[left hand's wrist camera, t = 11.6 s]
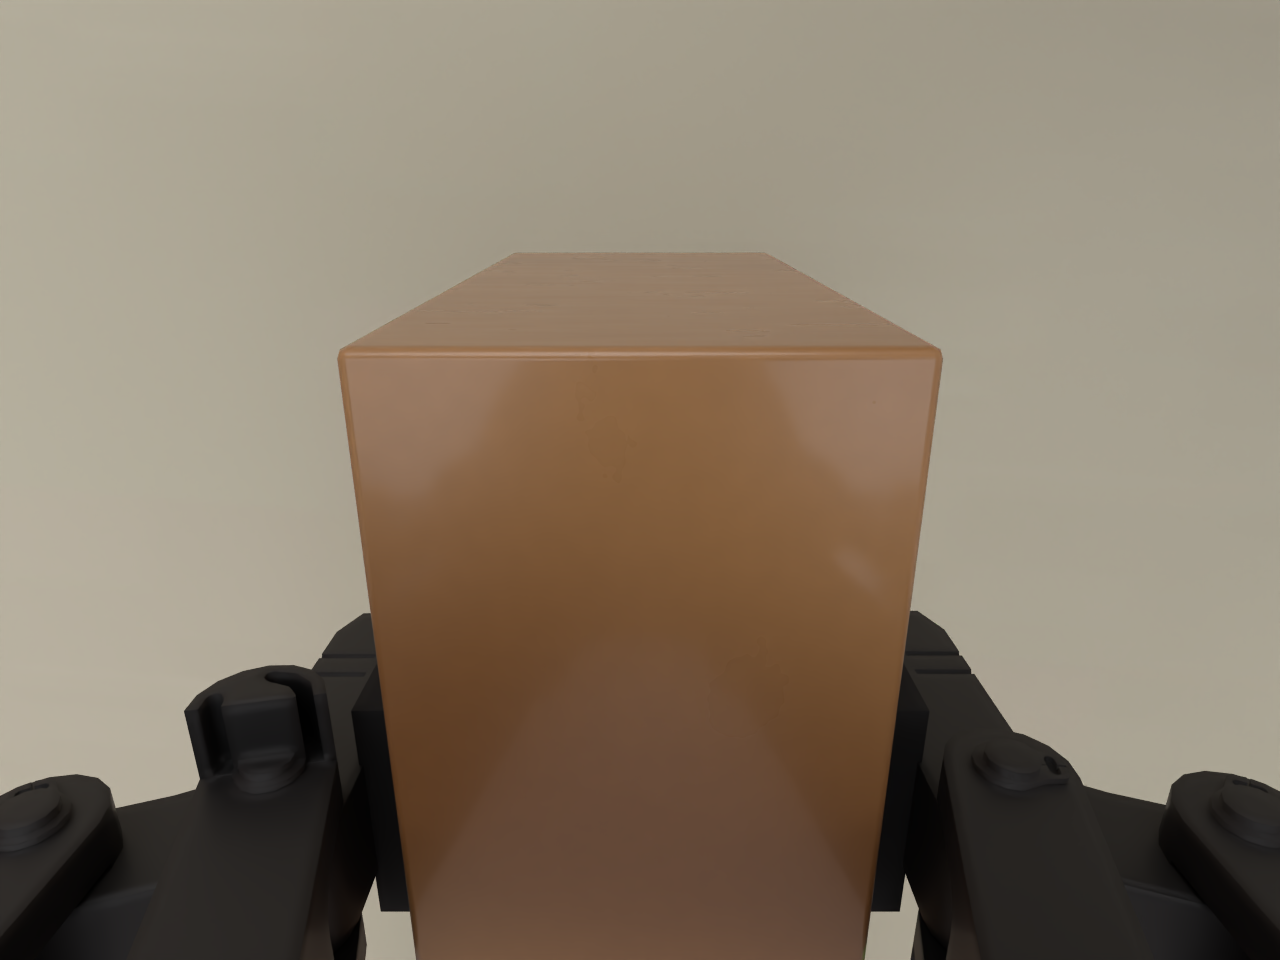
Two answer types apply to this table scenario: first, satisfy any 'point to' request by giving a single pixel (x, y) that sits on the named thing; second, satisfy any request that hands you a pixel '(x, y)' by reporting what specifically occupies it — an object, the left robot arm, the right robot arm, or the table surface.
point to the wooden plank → (640, 601)
